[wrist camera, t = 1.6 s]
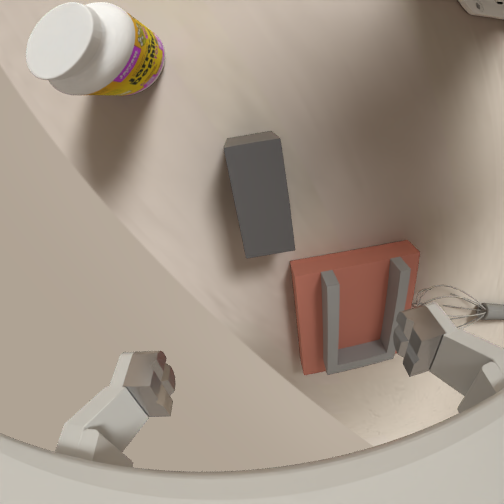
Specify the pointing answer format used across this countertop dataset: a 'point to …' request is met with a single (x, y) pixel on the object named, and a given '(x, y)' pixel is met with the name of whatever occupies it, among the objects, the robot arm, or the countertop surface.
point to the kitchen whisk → (483, 309)
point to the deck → (352, 305)
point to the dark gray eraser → (260, 193)
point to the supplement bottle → (94, 50)
